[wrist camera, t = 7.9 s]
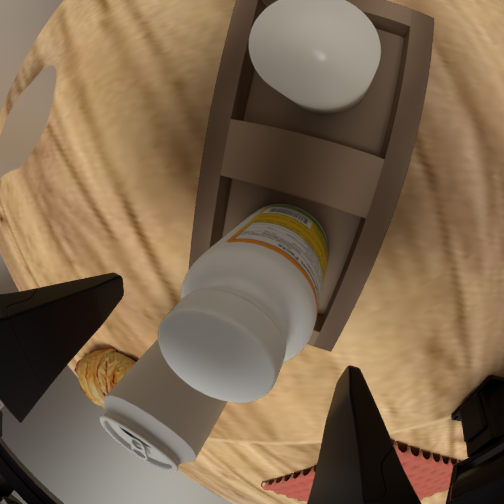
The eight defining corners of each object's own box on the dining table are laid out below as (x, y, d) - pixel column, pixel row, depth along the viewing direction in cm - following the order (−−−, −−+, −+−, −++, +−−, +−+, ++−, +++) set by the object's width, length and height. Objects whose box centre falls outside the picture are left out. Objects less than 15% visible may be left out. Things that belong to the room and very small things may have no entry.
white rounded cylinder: (376, 47, 10) (387, 8, 6) (360, 126, 12) (368, 118, 8) (288, 28, 11) (261, -12, 7) (272, 104, 13) (237, 89, 9)
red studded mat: (262, 478, 36) (259, 487, 35) (381, 430, 23) (381, 445, 21) (369, 507, 34) (368, 515, 32) (482, 462, 20) (483, 471, 19)
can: (253, 326, 21) (177, 456, 11) (245, 383, 24) (189, 487, 14) (171, 299, 23) (75, 393, 12) (176, 357, 26) (108, 442, 16)
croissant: (181, 344, 30) (131, 358, 23) (196, 420, 29) (153, 446, 22) (90, 340, 39) (51, 345, 32) (101, 395, 37) (64, 406, 30)
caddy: (421, 36, 9) (434, 18, 7) (335, 323, 19) (330, 351, 16) (258, 1, 12) (241, -19, 9) (206, 277, 21) (186, 298, 18)
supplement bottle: (265, 296, 18) (196, 415, 10) (226, 223, 17) (114, 308, 8) (343, 272, 16) (325, 411, 7) (306, 187, 14) (242, 260, 6)
